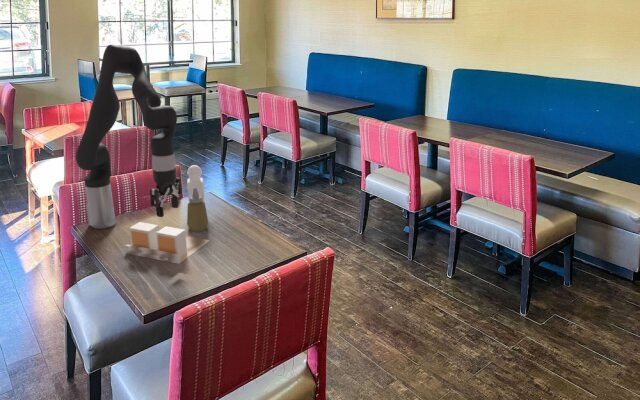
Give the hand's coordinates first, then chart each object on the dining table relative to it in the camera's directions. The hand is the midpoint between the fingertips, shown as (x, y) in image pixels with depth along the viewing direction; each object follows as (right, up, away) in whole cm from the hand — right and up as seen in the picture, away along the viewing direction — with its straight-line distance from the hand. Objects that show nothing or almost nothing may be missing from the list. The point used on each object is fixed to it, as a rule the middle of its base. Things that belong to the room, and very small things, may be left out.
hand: (168, 212), depth 186 cm
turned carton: (0, -15, +6) cm, 16 cm away
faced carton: (-10, -14, +9) cm, 20 cm away
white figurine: (0, -3, +43) cm, 43 cm away
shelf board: (-3, -14, +13) cm, 19 cm away
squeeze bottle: (+4, -8, +28) cm, 30 cm away
